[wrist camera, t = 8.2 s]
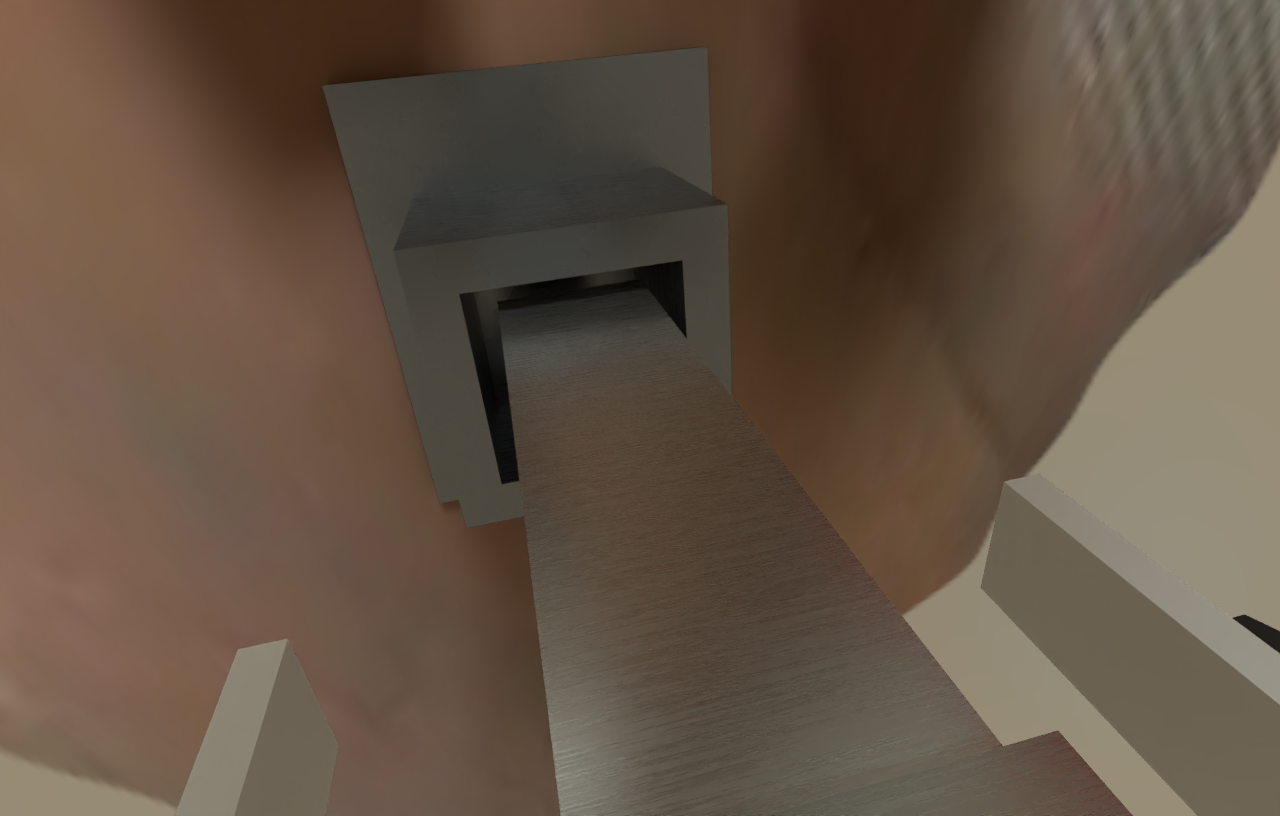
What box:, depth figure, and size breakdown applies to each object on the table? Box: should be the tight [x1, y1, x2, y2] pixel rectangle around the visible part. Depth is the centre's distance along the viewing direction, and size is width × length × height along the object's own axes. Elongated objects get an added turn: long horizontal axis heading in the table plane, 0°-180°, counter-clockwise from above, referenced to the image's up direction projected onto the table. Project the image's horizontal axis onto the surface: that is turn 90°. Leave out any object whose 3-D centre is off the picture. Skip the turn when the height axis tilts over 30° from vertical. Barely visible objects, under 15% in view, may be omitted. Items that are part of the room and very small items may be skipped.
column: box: [497, 279, 1132, 816], centre depth 15 cm, size 6×6×19 cm
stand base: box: [322, 47, 732, 528], centre depth 25 cm, size 18×14×10 cm
